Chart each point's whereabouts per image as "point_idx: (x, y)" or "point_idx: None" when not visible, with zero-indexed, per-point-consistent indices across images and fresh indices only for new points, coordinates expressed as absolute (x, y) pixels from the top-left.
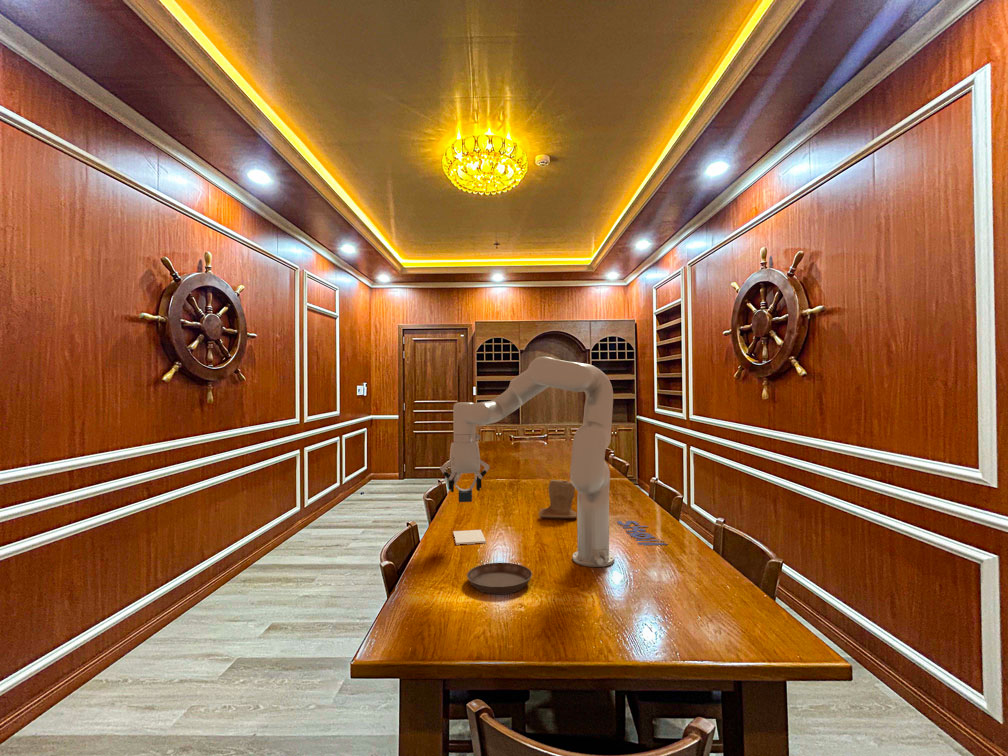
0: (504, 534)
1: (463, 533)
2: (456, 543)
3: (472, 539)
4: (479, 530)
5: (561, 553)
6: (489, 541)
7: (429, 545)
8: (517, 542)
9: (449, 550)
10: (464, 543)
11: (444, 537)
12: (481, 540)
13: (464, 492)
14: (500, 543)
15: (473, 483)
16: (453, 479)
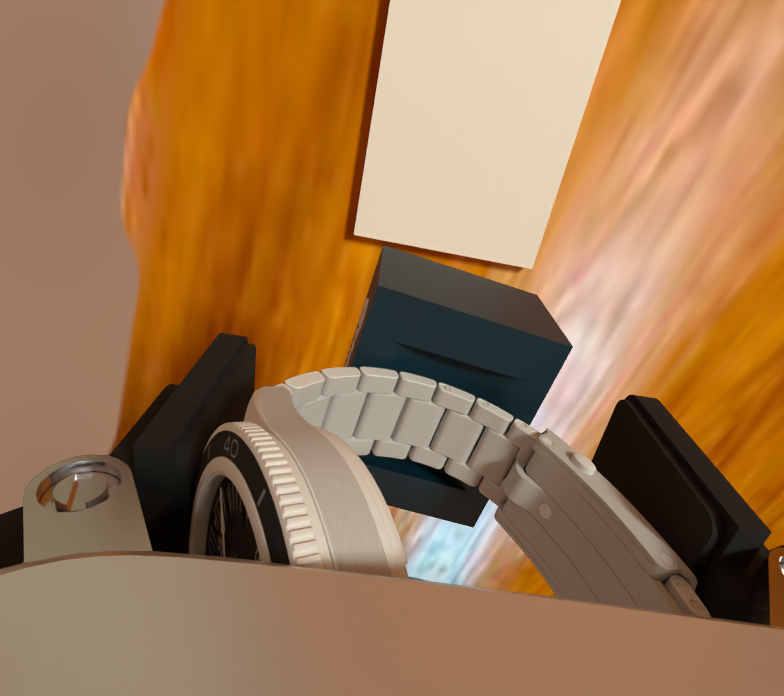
0: (733, 131)
1: (458, 40)
2: (355, 234)
3: (468, 210)
4: (605, 4)
5: (761, 507)
6: (565, 237)
7: (194, 171)
8: (696, 314)
9: (299, 301)
10: (403, 242)
11: (313, 23)
12: (512, 250)
13: (388, 499)
14: (603, 295)
15: (549, 579)
16: (189, 547)
